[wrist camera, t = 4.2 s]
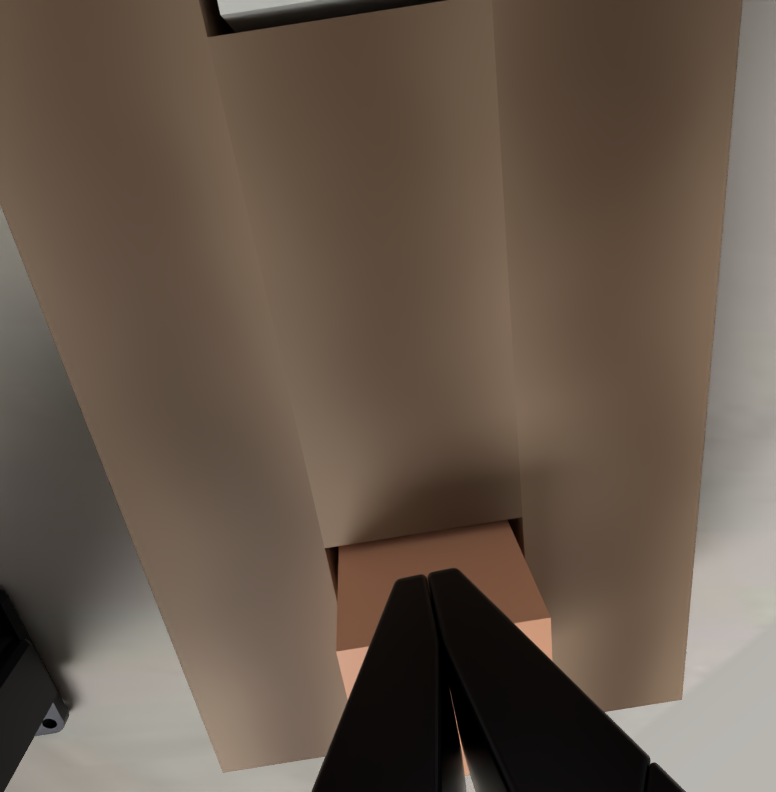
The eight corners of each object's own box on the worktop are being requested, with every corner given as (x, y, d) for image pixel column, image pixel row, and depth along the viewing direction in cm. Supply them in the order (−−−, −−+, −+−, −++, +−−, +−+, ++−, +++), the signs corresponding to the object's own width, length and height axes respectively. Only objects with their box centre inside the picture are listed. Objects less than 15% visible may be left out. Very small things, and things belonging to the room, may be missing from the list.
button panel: (245, 663, 21) (223, 772, 17) (-87, -345, 11) (-324, -621, 7) (622, 603, 21) (681, 699, 17) (650, -456, 11) (811, -791, 7)
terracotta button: (365, 666, 16) (369, 790, 13) (339, 543, 15) (336, 651, 11) (515, 642, 16) (556, 761, 13) (506, 517, 15) (550, 617, 11)
